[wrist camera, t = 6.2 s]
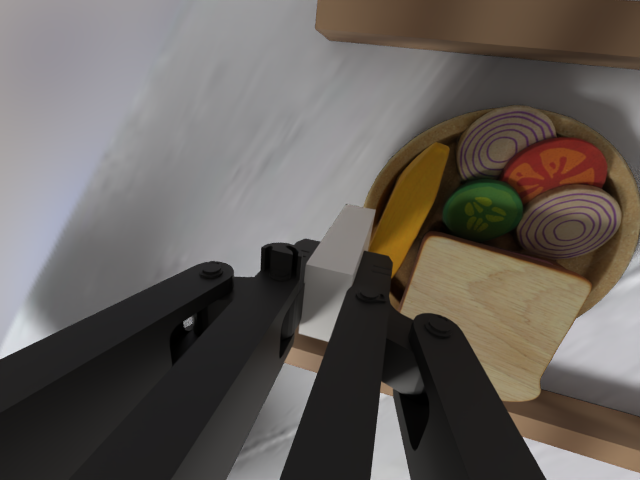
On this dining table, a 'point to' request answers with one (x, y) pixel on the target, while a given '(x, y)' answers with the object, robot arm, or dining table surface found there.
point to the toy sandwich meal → (506, 232)
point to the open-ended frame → (525, 43)
